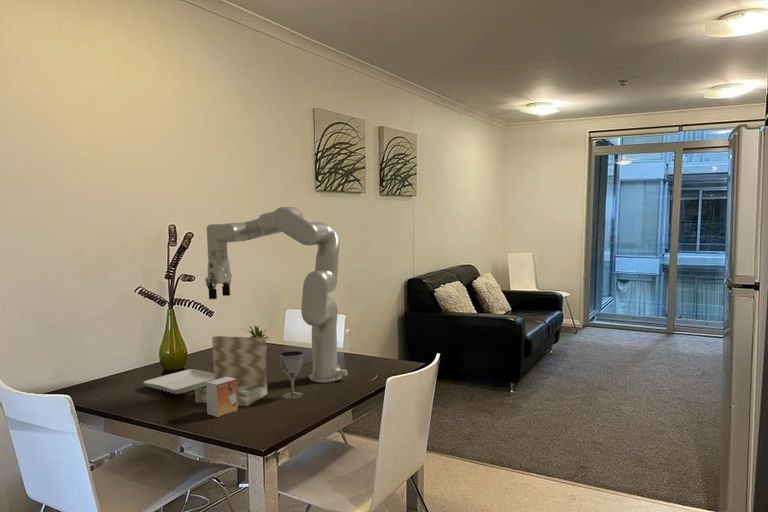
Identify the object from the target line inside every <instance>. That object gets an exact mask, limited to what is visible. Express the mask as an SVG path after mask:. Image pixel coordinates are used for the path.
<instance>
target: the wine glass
mask: <svg viewBox="0 0 768 512" xmlns="http://www.w3.org/2000/svg"><path fill="white" fill-rule="evenodd" d="M279 362H280V367H281V370H282V372H284V374H285V375H286V376H287V377H288V378H289V380H290V381H289V382H290V384H291V386H290V387H291V392H287V393H285V394H283V395H282V398H283V399H286V400H296V399H300V398H302V397H304V394H303V393H302V392H297V391H296V392H295V380H296V379H295V378H296V377H297V376H298V374H299V373H300V372H301V370H302V368H303V363H304V352H303V351H302V350H285V351H283V352H280V353H279Z"/></svg>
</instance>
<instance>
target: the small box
mask: <svg viewBox="0 0 768 512" xmlns="http://www.w3.org/2000/svg"><path fill="white" fill-rule="evenodd" d="M205 388H206V393H207V403H206V411H207V413H206V414H207V415H209V416H213V417H215V418H216V417H217V418H219V417H221V416H225V415H227V414H231V413H235V412H237V411H238V410H239V409H238V408H239V407H238V403H237V379H235V378H231V377H227V376H226V377H223V378H220V379H217V380H213V381H210V382H206V387H205Z"/></svg>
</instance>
